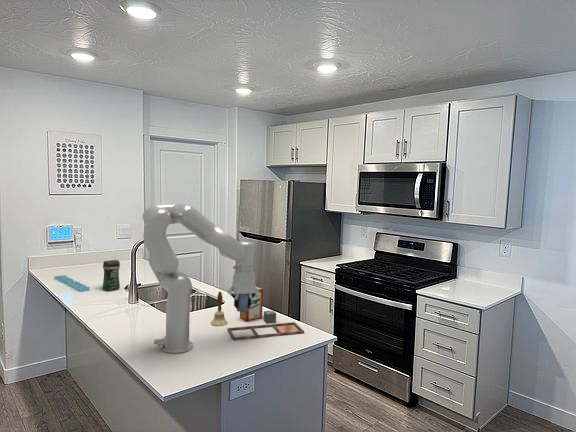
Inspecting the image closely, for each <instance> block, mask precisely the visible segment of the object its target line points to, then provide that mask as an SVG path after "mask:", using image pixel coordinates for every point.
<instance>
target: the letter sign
mask: <svg viewBox="0 0 576 432" xmlns="http://www.w3.org/2000/svg"><path fill="white" fill-rule="evenodd" d="M53 277H54V280H55V281H57V282H59V283H61V284H63V285H66V286H67V287H68V288H69V287H70V288H71V289H73V290H75V291H78V293H83V292H84V293H85V291H86V292H89V291H90V286H87V285H86V284H83V283H81V282H79V281H76V280H75V281H74V279H73V278H71V277H69V276H67V275H55V276H53Z"/></svg>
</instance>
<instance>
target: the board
mask: <svg viewBox="0 0 576 432" xmlns="http://www.w3.org/2000/svg"><path fill="white" fill-rule="evenodd" d="M264 328H265V329H266V328H272V329H274V331H275V332H276V333H275V332H274V333H266V334H265V333H264V334H259V333H258V332H257V330H256V329H264ZM241 330H242V331H243V330H251V332H252V333H253V334H254V335H246V336H235V335H234V333H233V332H234V331H241ZM232 331H233V332H232ZM227 333H229V336H230V337H231V340H232V341H243V340H252V339H261V338H262V339H263V338H271V337H280V336H282V337H283V336H292V335H301V334H302V335H303V334H305V330H304V329H302V327H300V325H298V323H296V322H295V321H293V322H282V323H281V322H280V323H270V324H260V325H259V324H258V325H248V326H238V327H237V326H236V327H227Z"/></svg>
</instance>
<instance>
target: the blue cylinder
mask: <svg viewBox="0 0 576 432" xmlns="http://www.w3.org/2000/svg"><path fill="white" fill-rule="evenodd" d="M248 296H249V294H239V296H238V309H236V311H237V312H239V313H240V312H247V311H248Z"/></svg>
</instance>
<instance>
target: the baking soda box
mask: <svg viewBox="0 0 576 432" xmlns="http://www.w3.org/2000/svg"><path fill="white" fill-rule="evenodd" d="M255 287H256V288H257V289H258V291H259V292H258V293H257V294H256V295H255V296H254V297H253V298H252V299H251V306H250V308H248V311H247V312H239V319H240V320H242V321H243V322H246V323H248V322H249V323H250V322H253V321H258V320H261V319H262V320H263V304H264V303H263V300H264V298H263V297H264V295H263V294H264V288H261V287H258V286H256V285H255Z"/></svg>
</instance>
